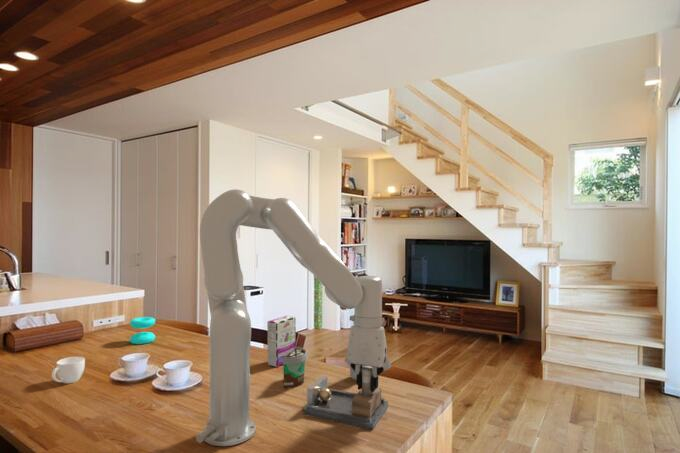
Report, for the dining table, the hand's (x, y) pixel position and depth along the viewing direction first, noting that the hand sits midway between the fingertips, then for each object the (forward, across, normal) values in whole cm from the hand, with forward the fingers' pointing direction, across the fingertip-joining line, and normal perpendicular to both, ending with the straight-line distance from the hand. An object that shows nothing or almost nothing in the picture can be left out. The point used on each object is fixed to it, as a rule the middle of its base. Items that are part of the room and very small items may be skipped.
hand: (367, 388), depth 109 cm
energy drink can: (+7, -11, +24) cm, 27 cm away
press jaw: (+5, 0, 0) cm, 5 cm away
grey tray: (+7, -6, 0) cm, 9 cm away
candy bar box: (+7, -43, +27) cm, 51 cm away
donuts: (+8, -112, +25) cm, 115 cm away
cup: (+7, -96, -18) cm, 98 cm away
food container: (+7, -28, +12) cm, 31 cm away
